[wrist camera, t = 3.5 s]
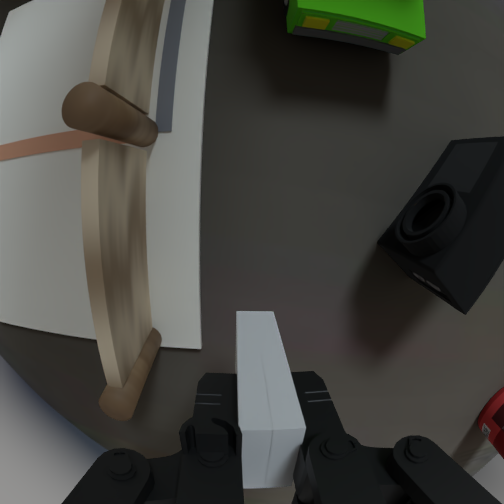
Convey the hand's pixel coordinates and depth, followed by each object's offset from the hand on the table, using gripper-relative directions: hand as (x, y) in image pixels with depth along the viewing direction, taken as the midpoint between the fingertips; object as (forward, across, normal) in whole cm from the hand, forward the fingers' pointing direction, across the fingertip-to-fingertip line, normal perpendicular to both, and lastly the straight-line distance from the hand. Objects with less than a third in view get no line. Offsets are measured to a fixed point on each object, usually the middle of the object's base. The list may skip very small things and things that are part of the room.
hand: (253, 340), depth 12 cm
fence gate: (+6, -7, +2) cm, 9 cm away
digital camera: (+7, +13, +6) cm, 16 cm away
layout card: (+7, -12, +9) cm, 17 cm away
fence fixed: (+7, -6, +15) cm, 18 cm away
